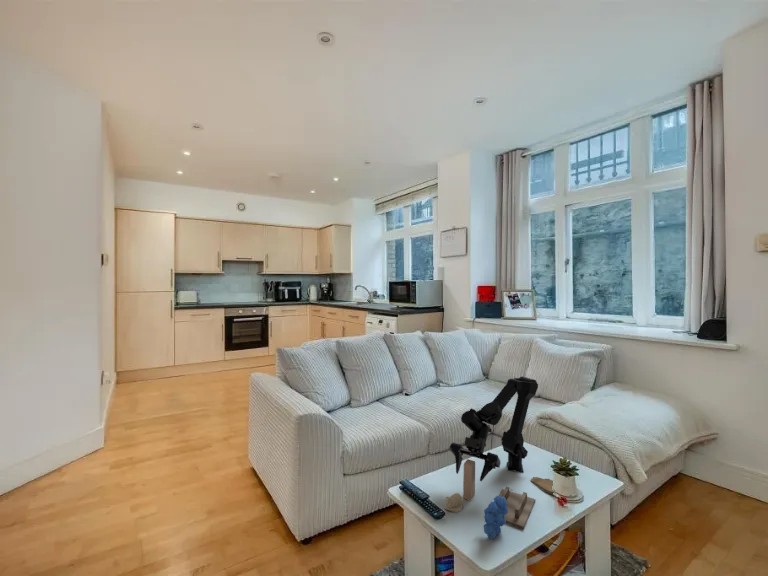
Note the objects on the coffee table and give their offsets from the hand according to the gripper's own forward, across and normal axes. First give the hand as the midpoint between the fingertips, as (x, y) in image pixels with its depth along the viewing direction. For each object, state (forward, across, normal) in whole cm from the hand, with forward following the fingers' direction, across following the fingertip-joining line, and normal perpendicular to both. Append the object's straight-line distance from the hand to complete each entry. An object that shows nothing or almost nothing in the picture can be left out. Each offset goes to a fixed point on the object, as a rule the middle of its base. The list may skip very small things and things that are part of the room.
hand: (468, 477), depth 136 cm
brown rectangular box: (+5, 0, +6) cm, 8 cm away
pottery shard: (-11, +24, +23) cm, 35 cm away
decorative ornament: (+12, -2, -1) cm, 12 cm away
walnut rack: (+4, +15, +7) cm, 17 cm away
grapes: (+15, +14, -4) cm, 21 cm away
